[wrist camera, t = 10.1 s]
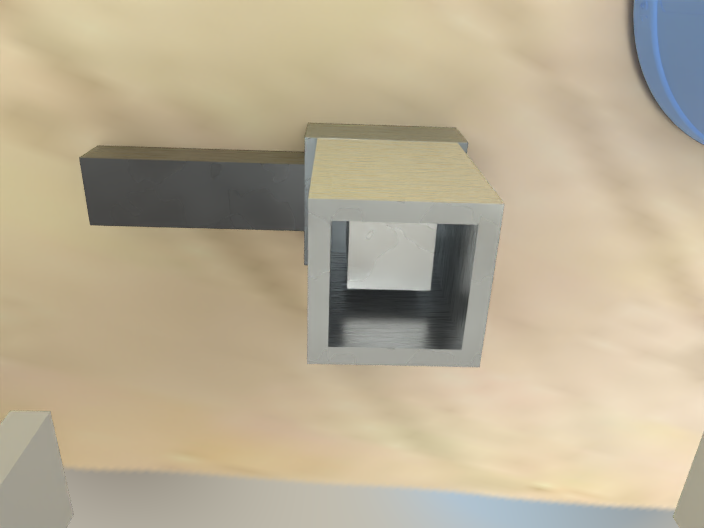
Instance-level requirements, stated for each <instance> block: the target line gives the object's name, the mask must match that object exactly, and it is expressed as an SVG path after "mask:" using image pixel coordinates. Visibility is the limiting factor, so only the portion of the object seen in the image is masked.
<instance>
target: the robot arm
mask: <svg viewBox="0 0 704 528" xmlns="http://www.w3.org/2000/svg"><path fill="white" fill-rule="evenodd" d="M73 515H74V513H73V509H72V504H71V500H70V495H69V491H68V487H67V482H66V478H65V474H64V469H63V465H62V460H61V456H60V452H59V447H58V443H57V438H56V434H55V430H54V425H53V421H52V416H51V412H50V411H10V412H9V413H8V414H7V416H6V417H5V418H4V420H3V421H2V422H1V424H0V528H67V527H68V525H69V522H70V520H71V519H72V516H73ZM673 518H674V520H675V521H676V523H677V524H678V526H679V527H680V528H704V433H703V435H702V438H701V441H700V444H699V446H698V449H697V452H696V455H695V457H694V460H693V463H692V466H691V468H690V471H689V474H688V477H687V479H686V482H685V485H684V488H683V490H682V493H681V496H680V498H679V501H678V504H677V507H676V509H675V512H674V515H673Z"/></svg>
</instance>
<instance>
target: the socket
mask: <svg viewBox="0 0 704 528" xmlns="http://www.w3.org/2000/svg"><path fill="white" fill-rule="evenodd" d="M503 210H504V203H503V202H502V200H501V199H500V198H499V196H498V195H497V194H496V192H495V191H494V190H493V188H492V187H491V186H490V185H489V183H488V182H487V181H486V179H485V178H484V177H483V175H482V174H481V173H480V171H479V170H478V169H477V167H476V166H475V165H474V164H473V162H472V161H471V160H470V158H469V157H468V156H467V154H466V153H465V152H464V150H463V149H462V148H461V146H460V145H459V144H458V143H457V142H428V141H396V140H365V139H334V138H317V144H316V151H315V158H314V164H313V171H312V177H311V184H310V190H309V197H308V347H307V364H349V365H400V366H450V367H480V360H481V354H482V347H483V341H484V334H485V328H486V321H487V315H488V308H489V302H490V295H491V288H492V282H493V275H494V269H495V262H496V256H497V249H498V243H499V236H500V230H501V223H502V216H503ZM332 221H359V222H395V223H432V224H437V230H436V240H435V249H434V259H433V269H432V278H431V288H430V291H424V290H382V289H347V265H346V253H343V252H331V242H332Z"/></svg>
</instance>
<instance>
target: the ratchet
mask: <svg viewBox="0 0 704 528" xmlns="http://www.w3.org/2000/svg"><path fill="white" fill-rule="evenodd" d="M317 138H334V139H365V140H396V141H428V142H457V143H458V144H459V145H460V146H461V148H462V149H463V150H464V152H465V153H466V154H467V147H468V142H467V141H466V140H465V138H464V137H463V136H462V135H461V134H460V132H459V131H458V130H457V129H456V128H448V127H417V126H387V125H356V124H325V123H308V126H307V130H306V134H305V152H286V151H254V150H221V149H189V148H157V147H125V146H96V147H95V148H93V149H92V150H90V151H89V152H87V153H86V154H84V155H83V156H81V157H79V159H80V165H81V172H82V178H83V184H84V190H85V196H86V202H87V209H88V215H89V221H90V225H103V226H140V227H177V228H214V229H252V230H289V231H304V265H308V197H309V190H310V184H311V177H312V171H313V164H314V158H315V151H316V144H317ZM436 230H437V224H432V223H395V222H359V221H332V242H331V252H343V253H346V265H347V289H382V290H424V291H430V288H431V278H432V269H433V259H434V249H435V240H436Z"/></svg>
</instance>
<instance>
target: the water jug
mask: <svg viewBox="0 0 704 528" xmlns="http://www.w3.org/2000/svg"><path fill="white" fill-rule="evenodd" d="M633 22H634V36H635V44H636V50H637V55H638V59H639V63H640V66H641V69H642V72H643V75H644V78H645V80H646V83H647V85H648V87H649V89H650V91H651V93H652V95H653V96H654V98H655V100H656V101H657V103H658V104H659V106H660V107H661V109H662V110H663V111H664V112H665V114H666V115H667V116H668V117H669V118H670V119H671V120H672V121H673V123H674V124H676V125H677V126H678V127H679V128H680V129H681V130H682V131H683V132H685V133H686V134H687V135H689V136H690V137H692V138H693V139H695V140H696V141H698V142H700V143H701V144H703V145H704V0H634V9H633Z"/></svg>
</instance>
